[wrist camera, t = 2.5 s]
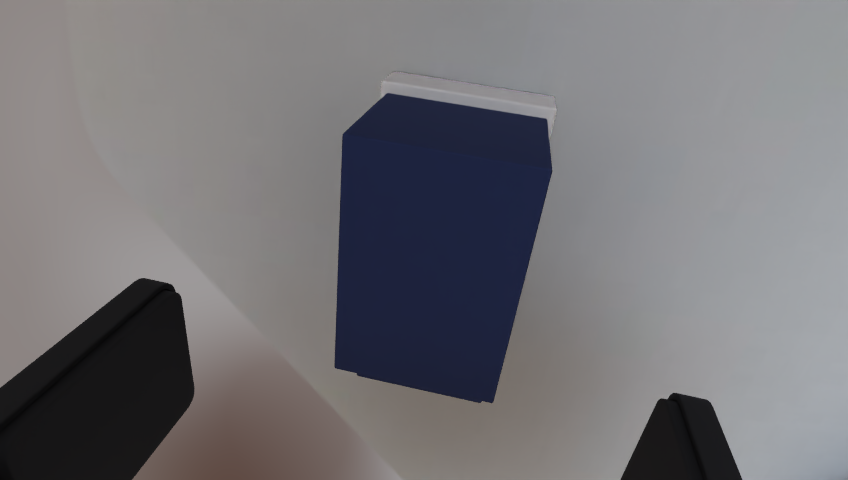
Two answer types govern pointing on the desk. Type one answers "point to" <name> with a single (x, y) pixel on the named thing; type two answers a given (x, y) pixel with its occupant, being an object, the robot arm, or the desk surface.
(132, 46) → the desk surface
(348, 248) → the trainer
